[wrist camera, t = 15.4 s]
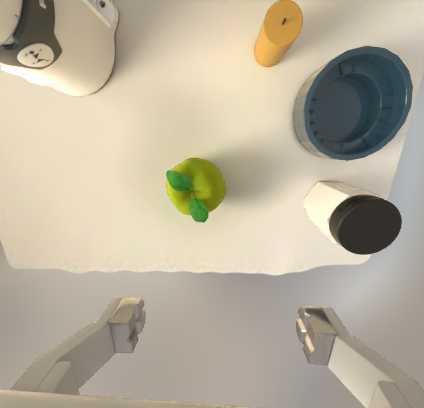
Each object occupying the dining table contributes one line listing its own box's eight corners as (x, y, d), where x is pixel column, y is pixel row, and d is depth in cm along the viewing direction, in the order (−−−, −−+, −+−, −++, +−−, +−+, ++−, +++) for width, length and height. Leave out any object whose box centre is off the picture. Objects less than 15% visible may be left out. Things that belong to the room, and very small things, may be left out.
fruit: (191, 212, 40) (181, 235, 31) (166, 171, 38) (147, 181, 28) (232, 191, 38) (236, 208, 29) (208, 147, 36) (204, 149, 27)
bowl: (277, 94, 33) (287, 86, 28) (367, 40, 30) (396, 21, 25) (310, 172, 37) (324, 177, 32) (394, 130, 34) (423, 128, 29)
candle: (249, 43, 31) (258, 10, 23) (276, 25, 30) (296, -16, 22) (261, 73, 32) (274, 51, 24) (288, 56, 31) (311, 28, 24)
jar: (354, 181, 37) (414, 200, 25) (345, 222, 39) (395, 256, 28) (305, 180, 37) (342, 197, 26) (298, 221, 40) (329, 253, 28)
